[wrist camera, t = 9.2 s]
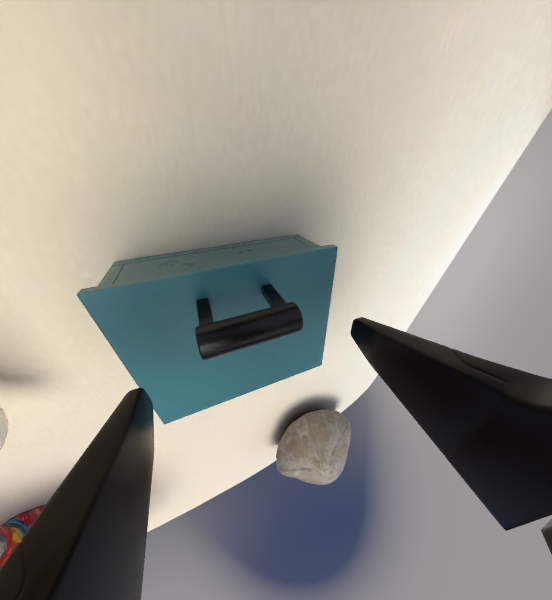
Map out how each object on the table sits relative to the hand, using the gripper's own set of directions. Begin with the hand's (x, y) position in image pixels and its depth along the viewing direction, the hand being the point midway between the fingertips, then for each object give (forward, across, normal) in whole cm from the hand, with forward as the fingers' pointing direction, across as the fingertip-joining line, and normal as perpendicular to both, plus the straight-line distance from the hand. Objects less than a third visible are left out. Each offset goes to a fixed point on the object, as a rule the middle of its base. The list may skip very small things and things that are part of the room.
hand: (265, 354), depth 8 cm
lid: (+6, 0, +4) cm, 7 cm away
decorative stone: (+11, -11, +39) cm, 42 cm away
